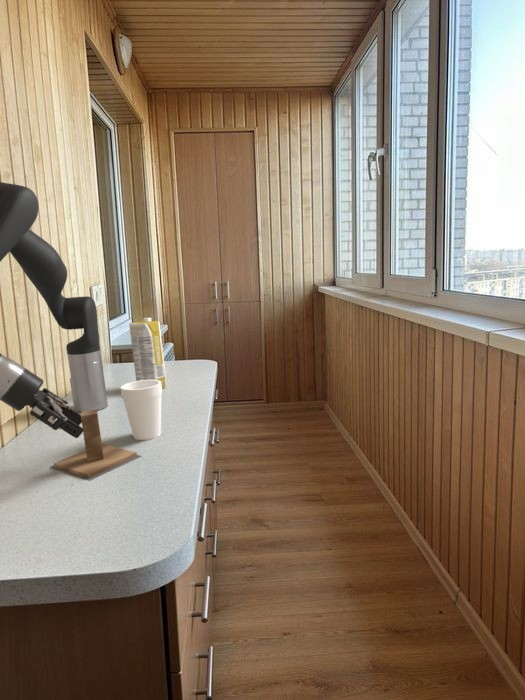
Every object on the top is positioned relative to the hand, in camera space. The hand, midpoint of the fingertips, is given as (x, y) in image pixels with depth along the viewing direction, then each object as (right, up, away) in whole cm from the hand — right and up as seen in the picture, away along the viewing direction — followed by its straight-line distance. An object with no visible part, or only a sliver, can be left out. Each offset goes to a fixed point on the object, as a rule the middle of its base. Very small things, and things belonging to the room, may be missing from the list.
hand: (81, 427), depth 100 cm
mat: (+2, -8, +2) cm, 8 cm away
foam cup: (+10, -5, +16) cm, 20 cm away
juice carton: (+1, +3, +63) cm, 63 cm away
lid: (+2, -7, +2) cm, 8 cm away
